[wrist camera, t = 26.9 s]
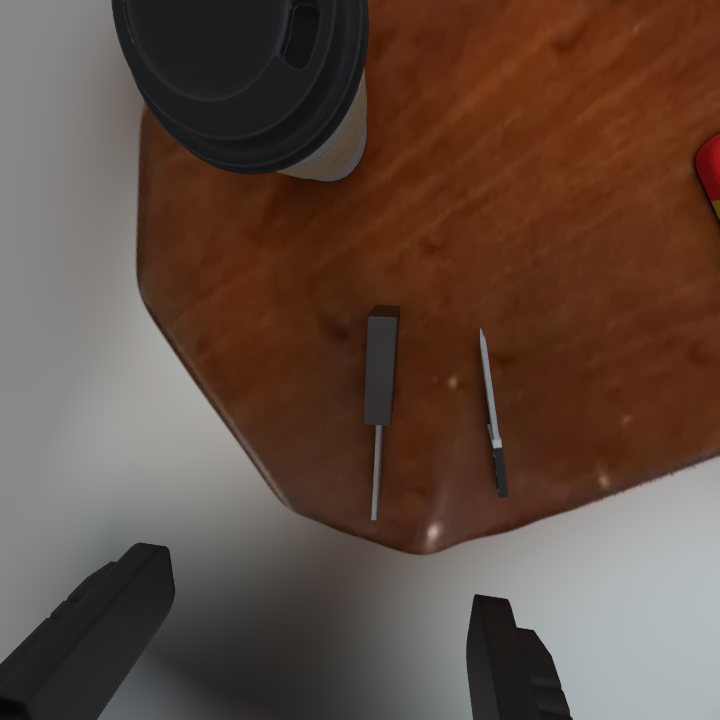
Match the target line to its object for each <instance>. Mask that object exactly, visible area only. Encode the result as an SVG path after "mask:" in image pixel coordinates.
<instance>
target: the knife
mask: <svg viewBox="0 0 720 720" xmlns="http://www.w3.org/2000/svg"><path fill="white" fill-rule="evenodd" d="M480 351H481V359H482V366H483V374H484V381H485V388H486V396H487V403H488V410H489V417H490V424H487V426H488V430H489V434H490V437H491V442H492V451H493V460H494V467H495V474H496V485H497V490H498V494H499V497H500V498H505V497H508V489H507V481H506V474H505V466H504V459H503V451H502V444H501V439H500V436H499V434H498V427H497V419H496V412H495V404H494V397H493V390H492V382H491V375H490V368H489V361H488V354H487V347H486V341H485V338H484V336H483V333H482V331H481V328H480Z"/></svg>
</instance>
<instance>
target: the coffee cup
mask: <svg viewBox="0 0 720 720" xmlns="http://www.w3.org/2000/svg"><path fill="white" fill-rule="evenodd" d="M112 10H113V16H114V22H115V27H116V32H117V35H118V39H119V42H120V45H121V48H122V51H123V54H124V56H125V59H126V61H127V63H128V66H129V67H130V69H131V72H132V75H133V77H134V79H135V82H136V84H137V87H138V89H139V91H140V93H141V95H142V97H143V99H144V101H145V102H146V104H147V106H148V107H149V109H150V110H151V112H152V113H153V115H154V116H155V117H156V119H157V120H158V121H159V123H160V124H161V125H162V126H163V127H164V129H165V130H166V131H167V132H168V133H169V134H170V135H171V136H172V137H173V138H175V139H176V140H177V141H178V142H179V143H180V144H182V145H183V146H184V147H185V148H186V149H187V150H189V151H190V152H191V153H193V154H194V155H195V156H197V157H198V158H200V159H202V160H203V161H205V162H207V163H209V164H211V165H213V166H215V167H218V168H220V169H223V170H226V171H230V172H234V173H241V174H265V173H271V172H278V173H282V174H286V175H290V176H294V177H298V178H303V179H316V180H320V181H335V180H340V179H342V178H344V177H346V176H347V175H348V174H350V173H351V172H352V171H353V170H354V168H355V167H356V166H357V165H358V163H359V161H360V159H361V157H362V154H363V151H364V148H365V143H366V135H367V127H366V116H367V95H366V82H365V69H364V66H365V60H366V55H367V47H368V34H369V19H368V5H367V0H112Z"/></svg>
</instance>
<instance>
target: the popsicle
mask: <svg viewBox="0 0 720 720" xmlns="http://www.w3.org/2000/svg"><path fill="white" fill-rule="evenodd" d="M696 168H697V171H698V174H699V176H700V178H701V181H702V183H703V185H704V187H705V189H706V192H707V194H708V196H709V198H710V200H711V203H712V205H713V207H714V209H715V211H716V214H717V216H718V218H719V220H720V133H719V134H717V135H716V136H714V137H713V138H711V139H710V140H709V141H707V142H706V143H705V144H704V145H703V147H702V148H701V149H700V150H699V151H698V154H697V156H696Z"/></svg>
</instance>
